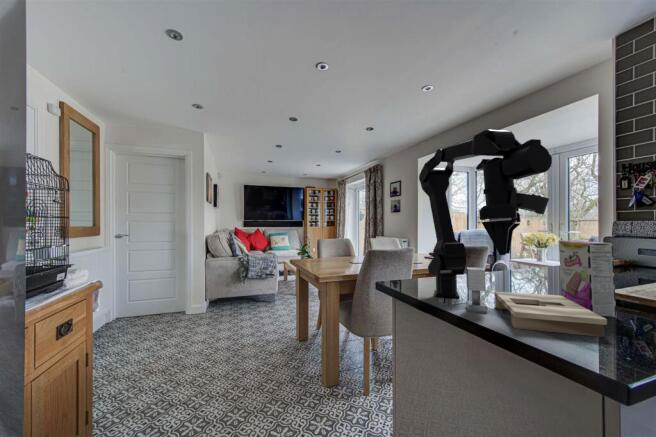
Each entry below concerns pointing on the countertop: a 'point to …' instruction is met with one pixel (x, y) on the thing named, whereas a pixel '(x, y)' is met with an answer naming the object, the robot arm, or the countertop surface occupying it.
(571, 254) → the candy bar box
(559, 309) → the keyhole plate
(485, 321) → the countertop surface
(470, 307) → the peg
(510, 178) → the robot arm
